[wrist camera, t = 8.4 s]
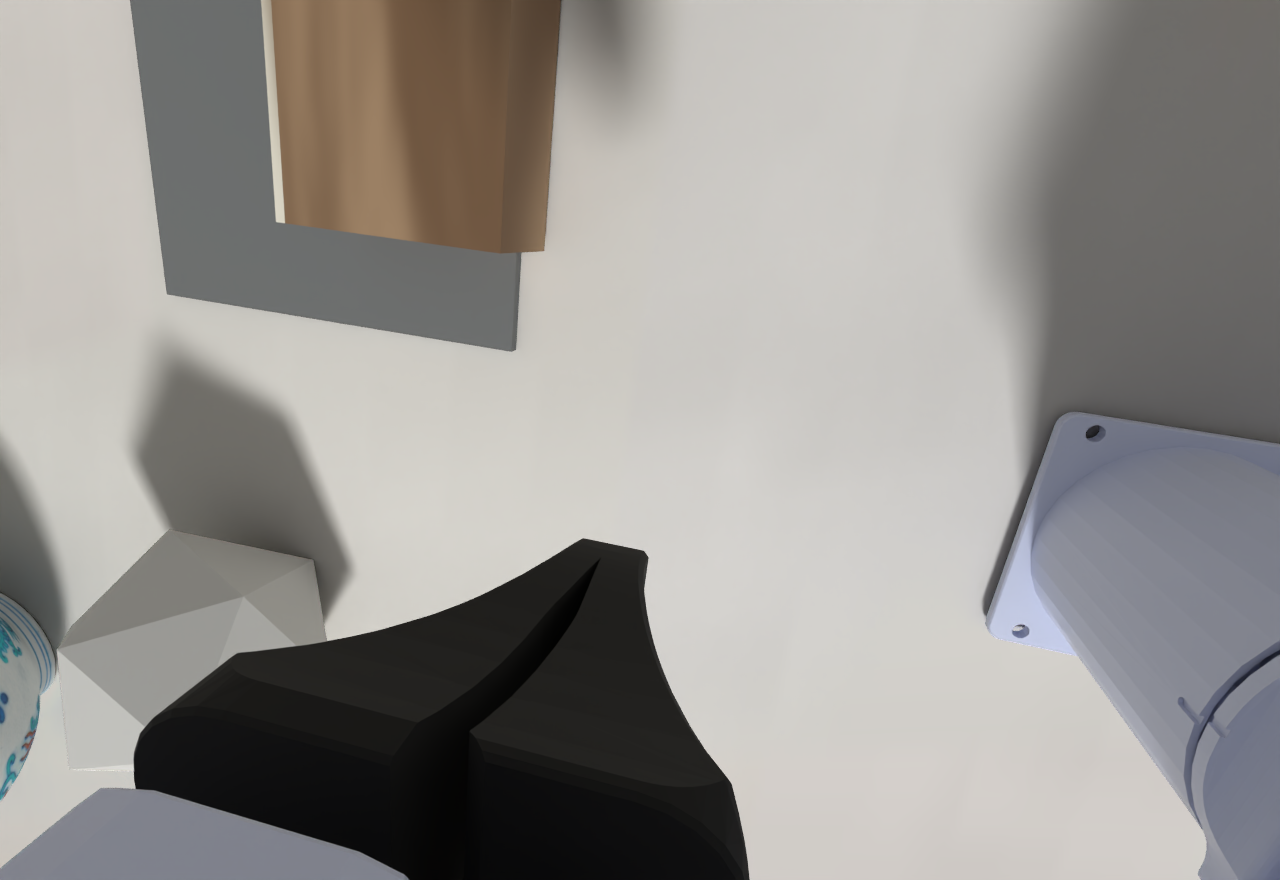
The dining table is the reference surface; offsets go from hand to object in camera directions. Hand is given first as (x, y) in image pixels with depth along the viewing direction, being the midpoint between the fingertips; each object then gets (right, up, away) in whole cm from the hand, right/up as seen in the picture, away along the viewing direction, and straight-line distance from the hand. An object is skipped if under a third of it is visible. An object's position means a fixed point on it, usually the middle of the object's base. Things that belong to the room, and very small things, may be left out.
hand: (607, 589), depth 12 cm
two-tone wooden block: (-2, +13, +5) cm, 14 cm away
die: (-16, -4, +16) cm, 23 cm away
